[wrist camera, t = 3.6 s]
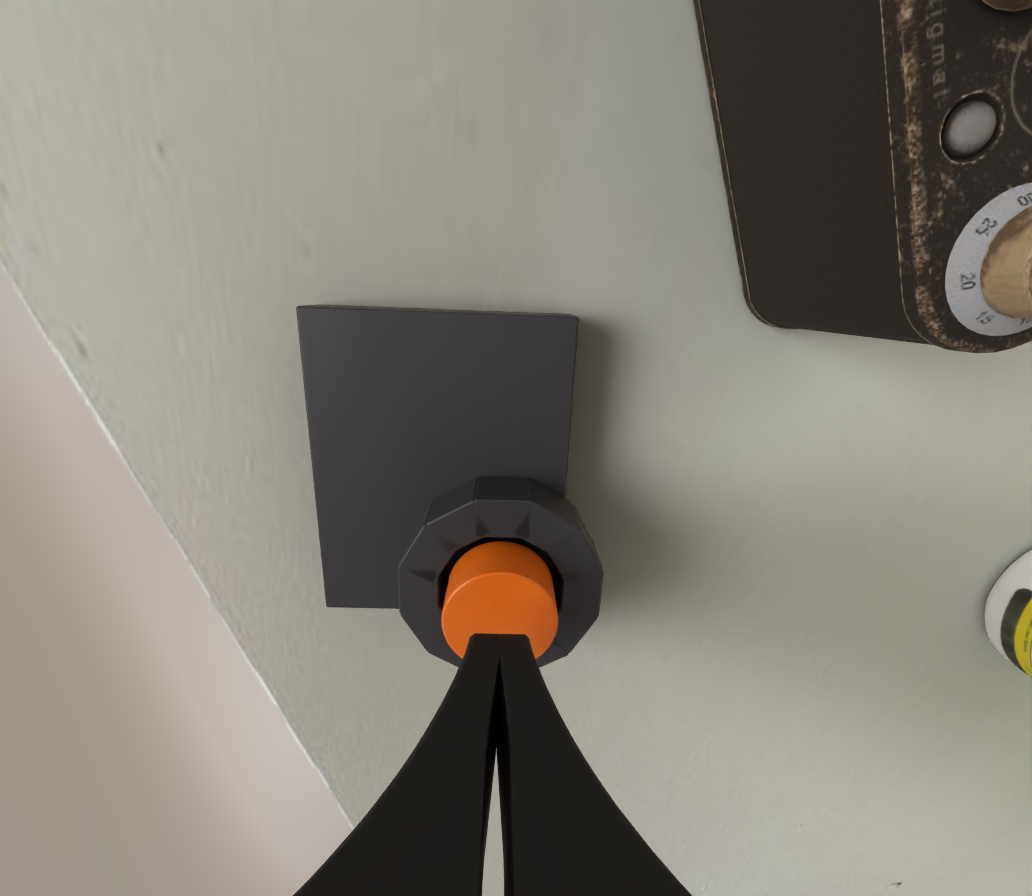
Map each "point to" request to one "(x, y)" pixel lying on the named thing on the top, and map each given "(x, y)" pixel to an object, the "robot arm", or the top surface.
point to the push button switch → (442, 456)
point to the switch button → (500, 597)
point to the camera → (878, 164)
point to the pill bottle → (1012, 613)
